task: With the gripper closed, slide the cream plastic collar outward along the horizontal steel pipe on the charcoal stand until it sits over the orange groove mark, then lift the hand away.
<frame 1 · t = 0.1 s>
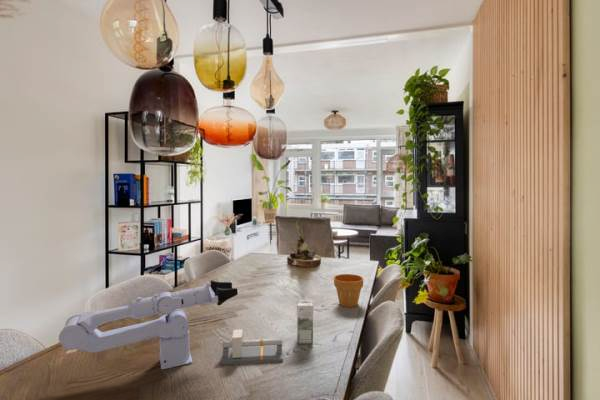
hand: (234, 288, 117), 22 cm above the table, tool horizontal, fingers open, 7 cm apart
flower pot: (348, 304, 162), on the table
syrup box: (305, 341, 123), on the table
collar: (237, 343, 111), point 5 cm above the table, slide at 0.0 cm
pipe stand: (252, 356, 112), on the table
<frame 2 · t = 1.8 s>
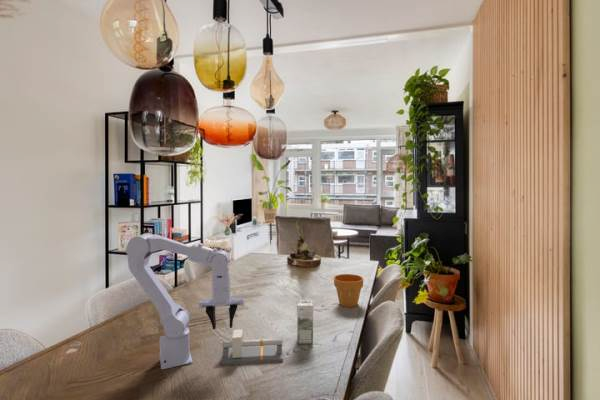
hand: (222, 327, 110), 10 cm above the table, tool pointing down, fingers open, 5 cm apart
nothing on the table moved.
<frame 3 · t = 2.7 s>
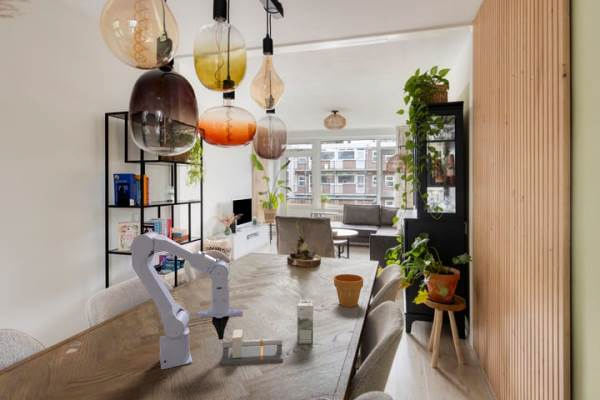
hand: (221, 338, 111), 7 cm above the table, tool pointing down, fingers closed
nothing on the table moved.
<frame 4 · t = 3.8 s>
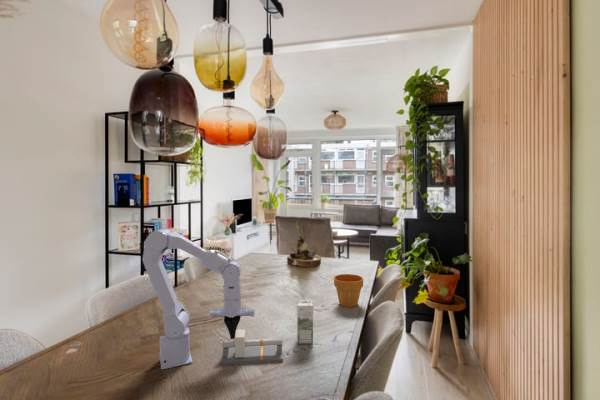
hand: (232, 337, 111), 7 cm above the table, tool pointing down, fingers closed
collar: (240, 343, 111), point 5 cm above the table, slide at 0.9 cm, touching gripper
everything else where it was.
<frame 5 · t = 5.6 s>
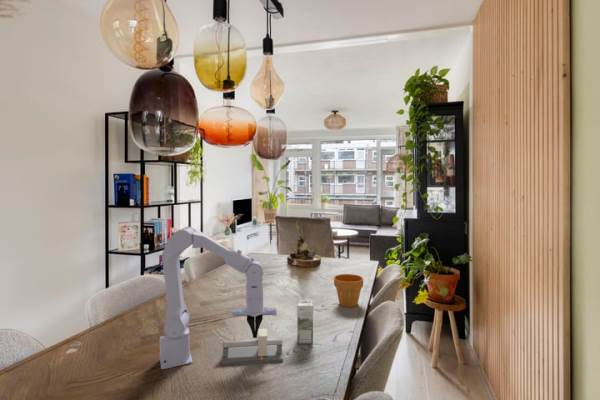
hand: (255, 336, 112), 7 cm above the table, tool pointing down, fingers closed
collar: (262, 342, 112), point 5 cm above the table, slide at 8.3 cm, touching gripper
everything else where it was.
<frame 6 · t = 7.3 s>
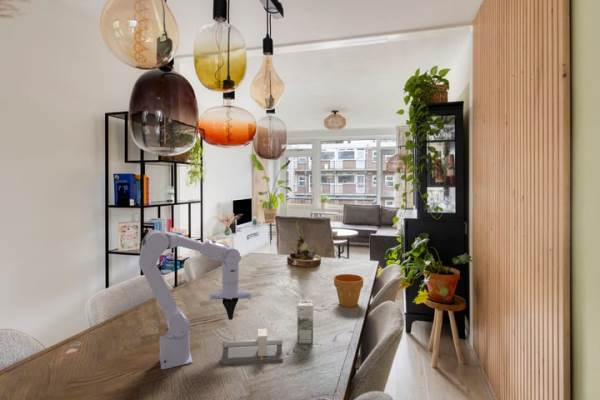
hand: (230, 318, 118), 10 cm above the table, tool pointing down, fingers closed
collar: (262, 342, 112), point 5 cm above the table, slide at 8.3 cm
everything else where it was.
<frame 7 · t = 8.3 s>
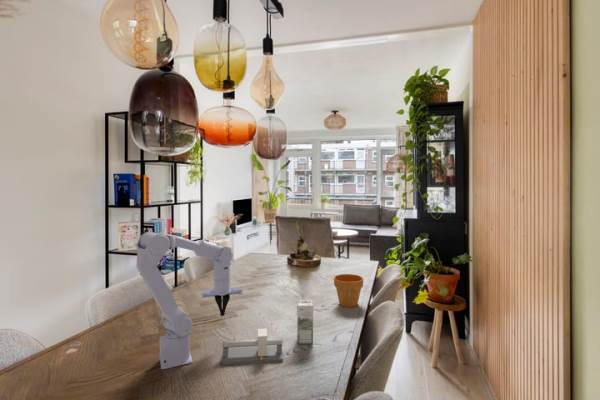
hand: (222, 314, 121), 10 cm above the table, tool pointing down, fingers closed
nothing on the table moved.
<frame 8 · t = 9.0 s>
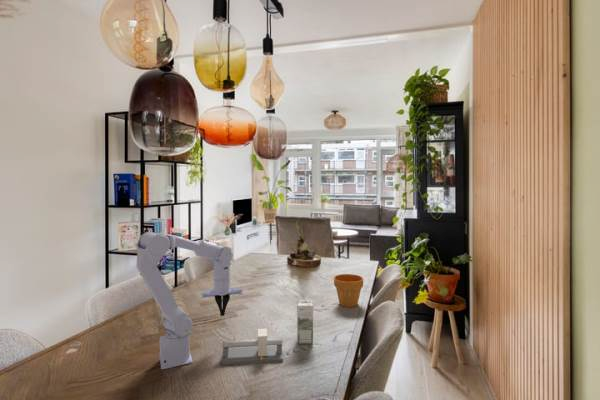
hand: (222, 314, 121), 10 cm above the table, tool pointing down, fingers closed
nothing on the table moved.
at the end: collar slide at 8.3 cm; syrup box moved 0.2 cm from its start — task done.
